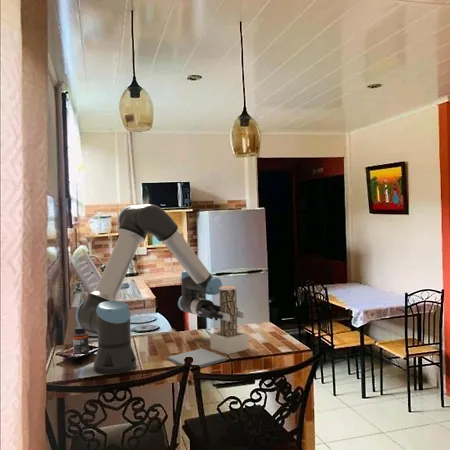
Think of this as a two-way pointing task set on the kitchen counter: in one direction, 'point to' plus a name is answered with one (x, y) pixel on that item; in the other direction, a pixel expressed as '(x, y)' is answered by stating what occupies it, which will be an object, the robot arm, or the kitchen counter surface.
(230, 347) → the box
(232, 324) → the bark pattern cylinder
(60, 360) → the kitchen counter surface
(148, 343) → the kitchen counter surface
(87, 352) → the supplement bottle
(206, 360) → the mat
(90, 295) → the robot arm
